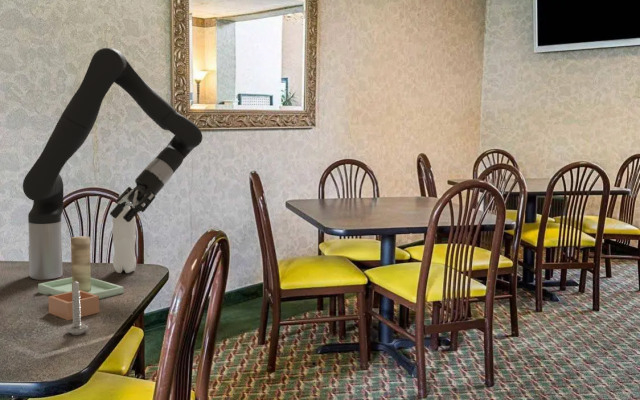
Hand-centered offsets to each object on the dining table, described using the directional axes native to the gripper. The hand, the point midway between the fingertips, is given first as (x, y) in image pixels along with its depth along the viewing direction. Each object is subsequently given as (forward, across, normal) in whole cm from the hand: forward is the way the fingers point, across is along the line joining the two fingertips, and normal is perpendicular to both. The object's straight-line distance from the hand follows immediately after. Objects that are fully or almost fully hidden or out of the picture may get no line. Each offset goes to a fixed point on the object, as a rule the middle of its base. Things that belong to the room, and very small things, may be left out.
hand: (118, 218), depth 184 cm
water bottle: (+8, -17, +22) cm, 29 cm away
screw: (+33, +33, -4) cm, 47 cm away
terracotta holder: (+29, +18, 0) cm, 34 cm away
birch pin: (+22, 0, +6) cm, 23 cm away
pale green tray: (+23, 0, +6) cm, 24 cm away
